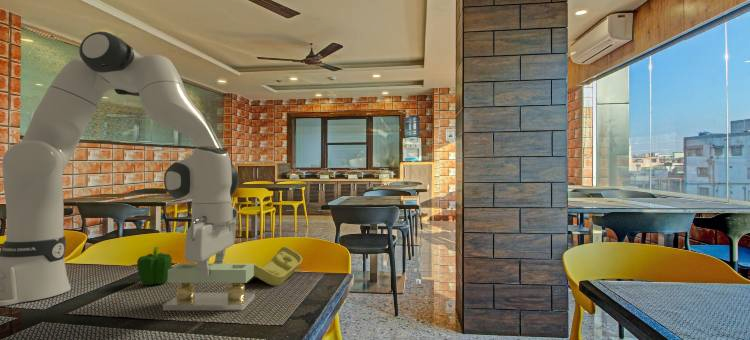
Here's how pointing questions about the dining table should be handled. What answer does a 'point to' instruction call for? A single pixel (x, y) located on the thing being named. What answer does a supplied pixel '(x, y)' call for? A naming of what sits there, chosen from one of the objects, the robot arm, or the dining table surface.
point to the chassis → (209, 299)
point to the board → (211, 273)
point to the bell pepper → (154, 267)
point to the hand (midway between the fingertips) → (212, 272)
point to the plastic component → (278, 267)
